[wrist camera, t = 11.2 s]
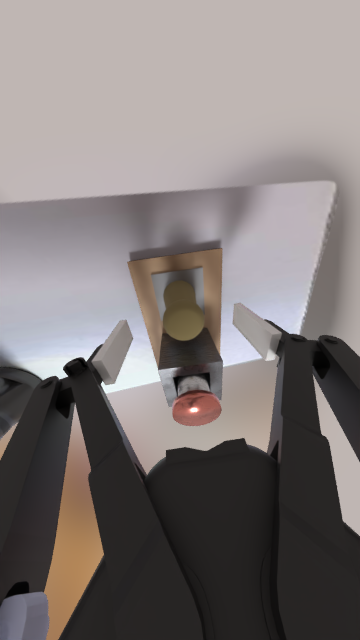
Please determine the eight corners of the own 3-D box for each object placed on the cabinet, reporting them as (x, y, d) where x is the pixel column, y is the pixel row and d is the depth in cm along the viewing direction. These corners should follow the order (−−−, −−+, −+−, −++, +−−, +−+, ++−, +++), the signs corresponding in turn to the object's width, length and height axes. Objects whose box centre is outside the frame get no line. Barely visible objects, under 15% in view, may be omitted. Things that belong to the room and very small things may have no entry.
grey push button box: (169, 365, 34) (168, 406, 25) (162, 333, 29) (157, 370, 20) (208, 360, 34) (221, 399, 25) (207, 327, 29) (222, 361, 20)
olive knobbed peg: (192, 277, 23) (208, 297, 13) (197, 308, 26) (213, 342, 16) (159, 284, 23) (151, 309, 14) (167, 314, 26) (165, 352, 17)
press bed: (159, 364, 36) (158, 372, 34) (130, 261, 24) (126, 262, 21) (217, 356, 36) (220, 363, 34) (218, 248, 24) (223, 248, 21)
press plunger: (174, 377, 29) (176, 428, 20) (169, 353, 25) (168, 402, 17) (206, 373, 28) (221, 422, 20) (205, 348, 25) (222, 395, 17)
